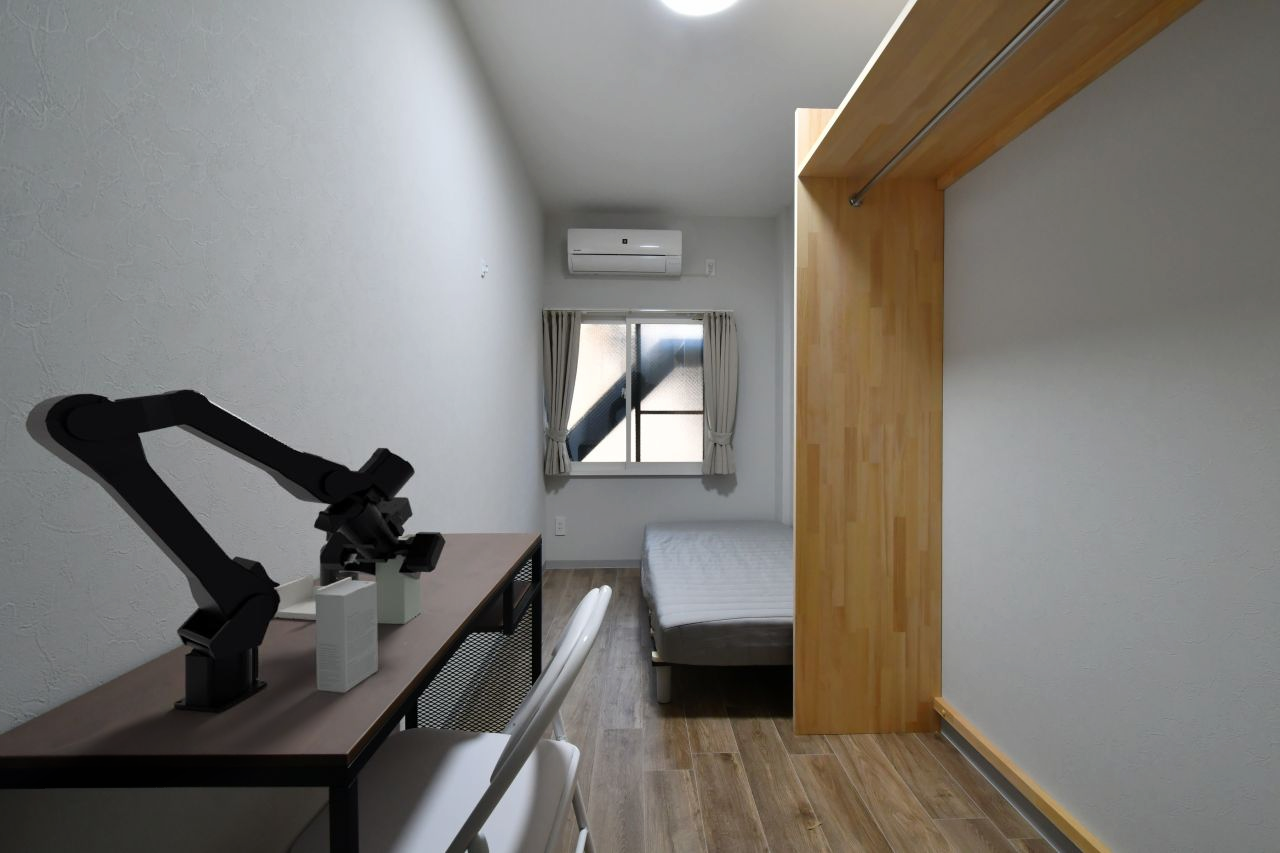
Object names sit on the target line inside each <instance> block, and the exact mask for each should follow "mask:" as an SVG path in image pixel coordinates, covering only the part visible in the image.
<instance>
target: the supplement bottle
mask: <svg viewBox="0 0 1280 853" xmlns="http://www.w3.org/2000/svg"><path fill="white" fill-rule="evenodd" d="M325 533H326V534H325V536H326V537H325V541H326V543H325V544H324V545H323V546H321V548H320V550H319V555H320V554H321V552H322V551H323V549H324V547H325V545H326V544H327V542H328V540H329V539H330V537H331V535H332V534H330V533H328V532H325ZM343 563H344V562H343ZM344 564H345V563H344ZM345 565H346V564H345ZM345 565H344V567H345ZM344 567H343V568H342V569H341V570H333V569H325V568H324V567H323V566H322V565H321V563H320V562H319V586H328V585H330V584H333V583H335V582H338V581H340V580H343V579H345V578H348V577H352V580H356V581H360V573H355V572H349V571H345V570H344Z"/></svg>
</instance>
